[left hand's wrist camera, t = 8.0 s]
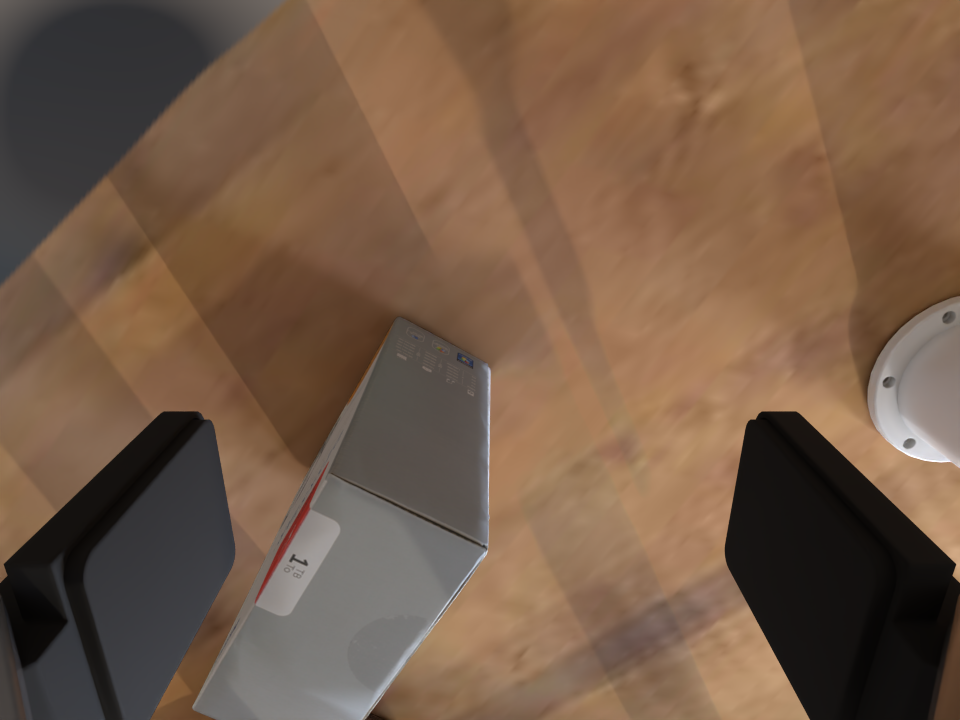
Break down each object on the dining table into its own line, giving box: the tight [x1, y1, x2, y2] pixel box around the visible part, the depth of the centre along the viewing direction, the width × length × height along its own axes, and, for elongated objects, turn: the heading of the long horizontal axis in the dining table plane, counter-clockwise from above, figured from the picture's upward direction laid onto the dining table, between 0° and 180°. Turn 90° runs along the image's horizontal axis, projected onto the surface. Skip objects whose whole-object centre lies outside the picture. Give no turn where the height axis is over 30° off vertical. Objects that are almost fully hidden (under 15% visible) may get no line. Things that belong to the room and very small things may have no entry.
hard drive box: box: [192, 317, 490, 720], centre depth 37 cm, size 16×8×20 cm, turn 149°
